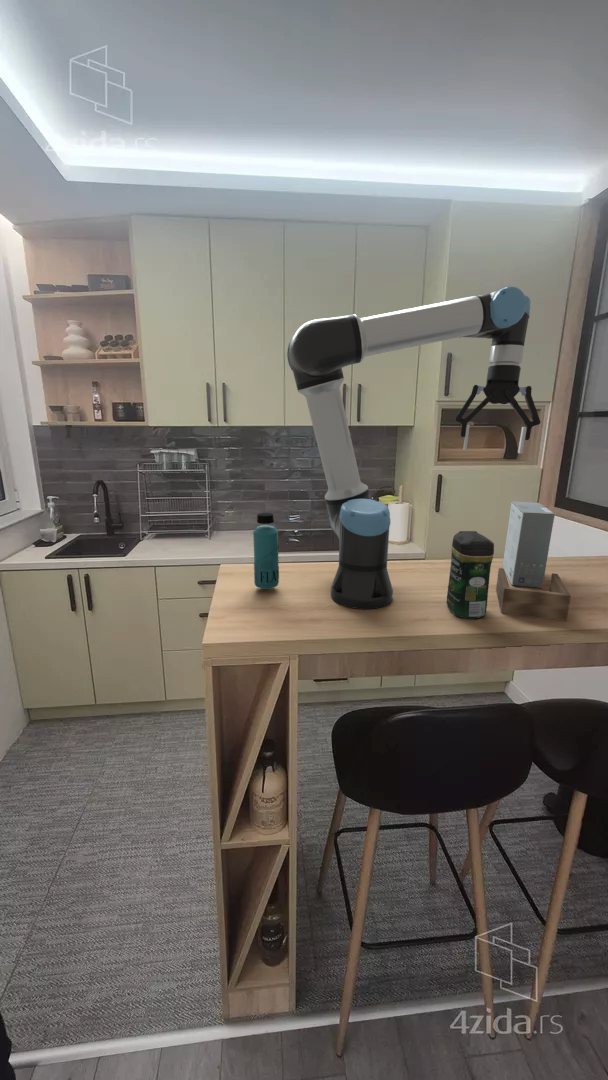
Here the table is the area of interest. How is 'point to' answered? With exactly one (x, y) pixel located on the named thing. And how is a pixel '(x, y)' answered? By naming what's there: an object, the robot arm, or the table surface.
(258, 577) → the beverage bottle
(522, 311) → the robot arm
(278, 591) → the table surface
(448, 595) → the coffee jar
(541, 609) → the walnut crate
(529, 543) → the hard drive box
